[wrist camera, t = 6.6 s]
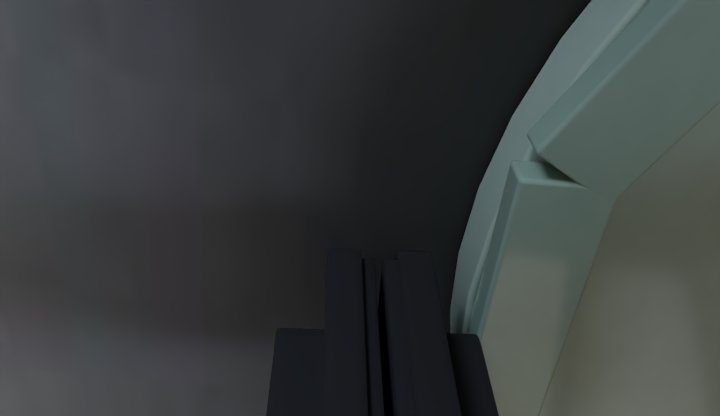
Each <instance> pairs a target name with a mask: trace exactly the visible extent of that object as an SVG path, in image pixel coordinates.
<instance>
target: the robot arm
mask: <svg viewBox="0 0 720 416" xmlns="http://www.w3.org/2000/svg"><path fill="white" fill-rule="evenodd" d="M266 416H499V414H498V410H497V406H496V402H495V398H494V394H493V390H492V386H491V382H490V378H489V374H488V370H487V366H486V362H485V358H484V354H483V350H482V346H481V343H480V340H479V337H478V336H477V335H476V334H462V333H446V331H445V325H444V320H443V315H442V310H441V304H440V299H439V294H438V288H437V283H436V278H435V273H434V267H433V262H432V257H431V253H430V252H408V251H397V252H396V255H395V260H383V263H382V273H381V284H380V294H379V305H378V312H377V297H376V282H375V267H374V259H362V258H361V250H353V249H328V258H327V282H326V306H325V329H290V328H277V332H276V339H275V347H274V356H273V364H272V372H271V381H270V389H269V398H268V406H267V415H266Z"/></svg>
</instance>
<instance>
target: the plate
mask: <svg viewBox="0 0 720 416" xmlns="http://www.w3.org/2000/svg"><path fill="white" fill-rule="evenodd" d="M450 333H462V334H476V335H477V336H478V337H479V340H480V343H481V346H482V350H483V354H484V358H485V362H486V366H487V370H488V374H489V378H490V382H491V386H492V390H493V394H494V398H495V402H496V406H497V410H498V414H499V416H720V0H591V1H590V3H589V4H588V5H587V6H586V8H585V9H584V10H583V11H582V13H581V14H580V15H579V16H578V18H577V19H576V20H575V21H574V23H573V24H572V25H571V26H570V28H569V29H568V30H567V31H566V33H565V34H564V35H563V36H562V38H561V39H560V41H559V42H558V44H557V46H556V47H555V49H554V50H553V52H552V53H551V55H550V57H549V58H548V60H547V61H546V63H545V65H544V66H543V68H542V69H541V71H540V73H539V74H538V76H537V77H536V79H535V80H534V82H533V84H532V85H531V87H530V88H529V90H528V92H527V93H526V95H525V96H524V98H523V99H522V101H521V103H520V104H519V106H518V107H517V109H516V111H515V112H514V114H513V115H512V118H511V120H510V122H509V124H508V126H507V128H506V130H505V132H504V135H503V137H502V139H501V141H500V143H499V145H498V147H497V150H496V152H495V154H494V156H493V158H492V160H491V162H490V165H489V167H488V169H487V171H486V173H485V175H484V177H483V180H482V182H481V184H480V186H479V188H478V192H477V195H476V198H475V201H474V204H473V208H472V211H471V214H470V217H469V221H468V224H467V227H466V230H465V234H464V237H463V240H462V243H461V247H460V250H459V253H458V260H457V267H456V274H455V280H454V287H453V294H452V301H451V308H450Z"/></svg>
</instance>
